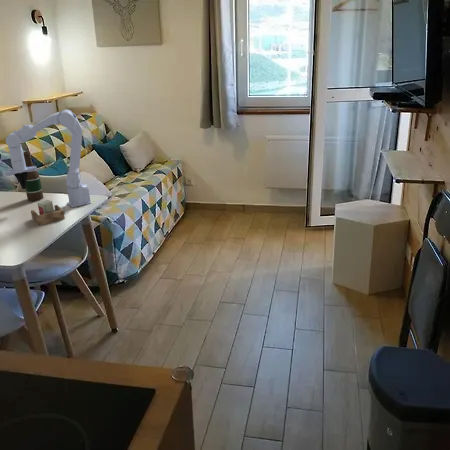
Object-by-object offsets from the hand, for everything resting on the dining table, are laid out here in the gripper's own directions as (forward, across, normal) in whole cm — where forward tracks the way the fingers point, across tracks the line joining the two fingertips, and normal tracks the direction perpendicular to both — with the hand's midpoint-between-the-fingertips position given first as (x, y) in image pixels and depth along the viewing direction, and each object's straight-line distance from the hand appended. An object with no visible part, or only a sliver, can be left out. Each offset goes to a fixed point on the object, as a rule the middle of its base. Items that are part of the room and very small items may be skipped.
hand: (23, 188), depth 223 cm
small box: (+11, -4, +18) cm, 22 cm away
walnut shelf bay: (+10, -4, +19) cm, 22 cm away
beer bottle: (+11, -7, -14) cm, 19 cm away
